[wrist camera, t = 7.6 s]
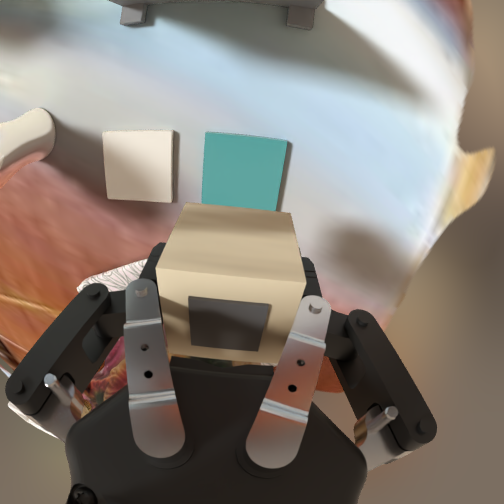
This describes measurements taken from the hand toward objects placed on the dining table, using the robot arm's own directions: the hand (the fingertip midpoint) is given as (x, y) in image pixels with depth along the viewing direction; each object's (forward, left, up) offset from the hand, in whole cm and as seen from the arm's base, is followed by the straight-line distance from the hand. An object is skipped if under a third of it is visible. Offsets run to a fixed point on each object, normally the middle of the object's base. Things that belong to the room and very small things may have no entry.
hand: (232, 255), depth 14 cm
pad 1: (0, -10, -13) cm, 16 cm away
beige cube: (0, 0, 0) cm, 0 cm away
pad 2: (0, 0, -13) cm, 13 cm away
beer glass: (-4, -23, -13) cm, 27 cm away
